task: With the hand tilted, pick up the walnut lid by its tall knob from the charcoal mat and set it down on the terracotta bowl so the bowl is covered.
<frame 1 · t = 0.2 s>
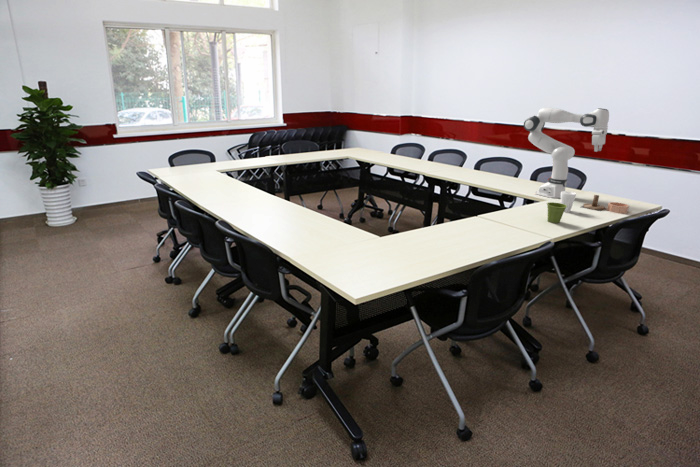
hand: (597, 151, 322), 38 cm above the table, tool pointing down, fingers open, 8 cm apart
foam cup: (565, 211, 309), on the table
lid: (594, 207, 318), resting on mat
mat: (593, 208, 319), on the table
plant pot: (553, 222, 283), on the table
bowl: (617, 211, 312), on the table
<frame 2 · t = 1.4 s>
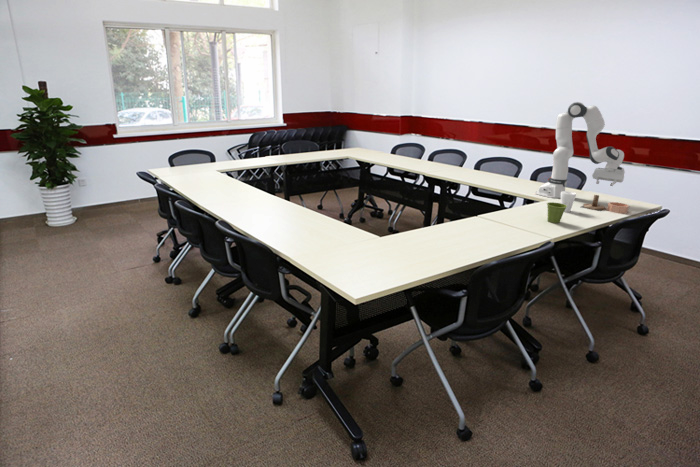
hand: (604, 184, 321), 16 cm above the table, tool tilted 45°, fingers open, 8 cm apart
nothing on the table moved.
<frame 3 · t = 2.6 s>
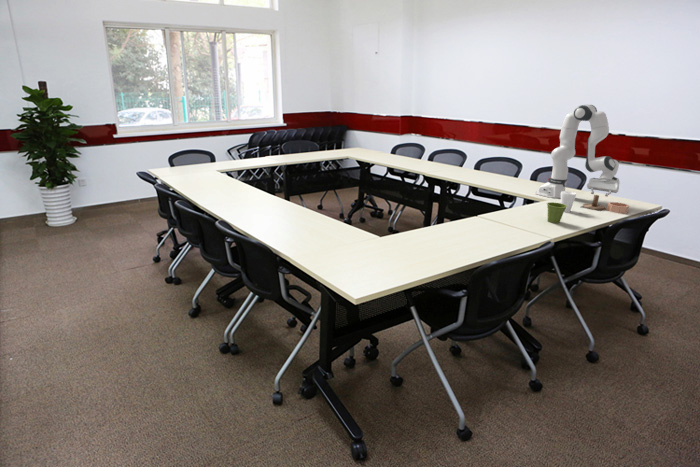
hand: (599, 194, 318), 9 cm above the table, tool tilted 45°, fingers open, 8 cm apart
nothing on the table moved.
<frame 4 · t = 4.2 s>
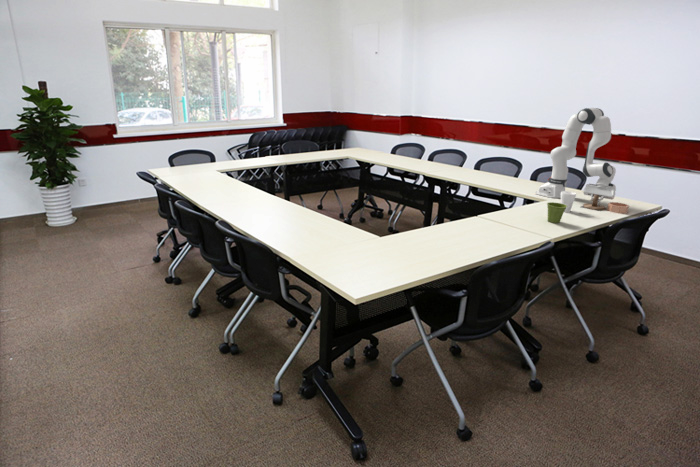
hand: (595, 201, 316), 5 cm above the table, tool tilted 45°, fingers closed on lid, 3 cm apart
lid: (594, 207, 318), resting on mat, touching gripper
everything else where it was.
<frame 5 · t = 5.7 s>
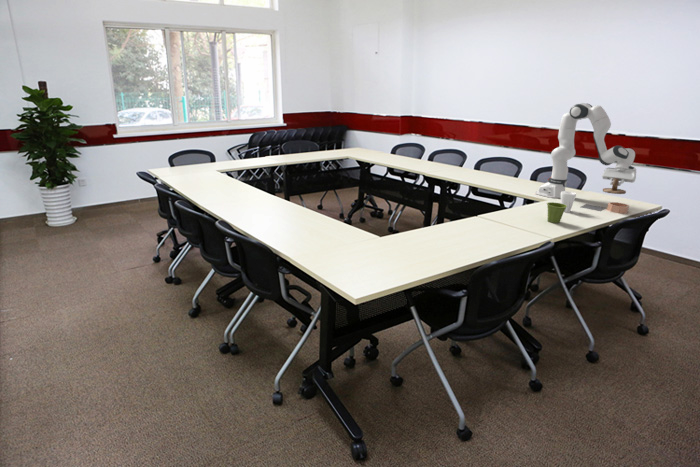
hand: (615, 184, 307), 19 cm above the table, tool tilted 45°, fingers closed on lid, 3 cm apart
lid: (613, 191, 309), point 14 cm above the table, touching gripper
everything else where it was.
when the fingers open (11 cm above the table, at t = 7.4 s): lid drops 1 cm, resting on bowl.
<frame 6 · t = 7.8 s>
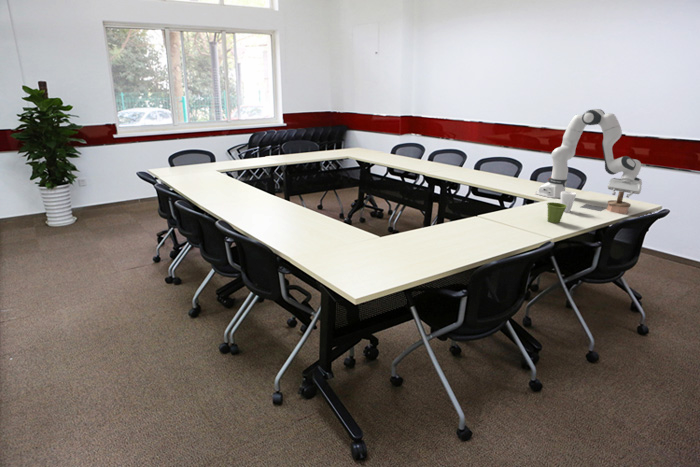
hand: (620, 195, 308), 11 cm above the table, tool tilted 45°, fingers open, 7 cm apart
lid: (618, 204, 310), point 5 cm above the table, touching bowl
everything else where it was.
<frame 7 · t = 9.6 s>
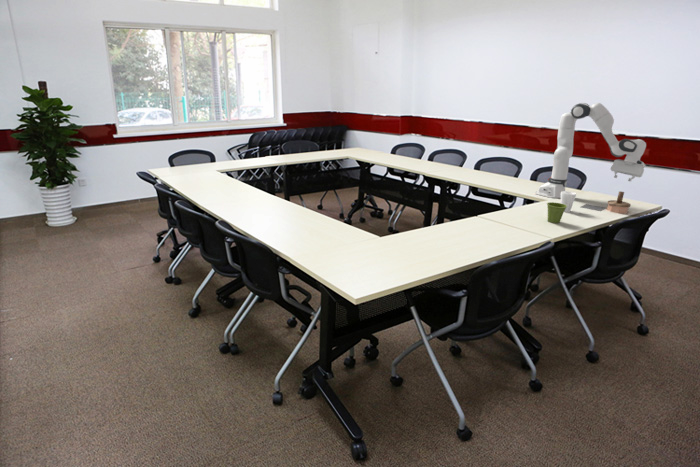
hand: (622, 179, 313), 21 cm above the table, tool tilted 30°, fingers open, 8 cm apart
nothing on the table moved.
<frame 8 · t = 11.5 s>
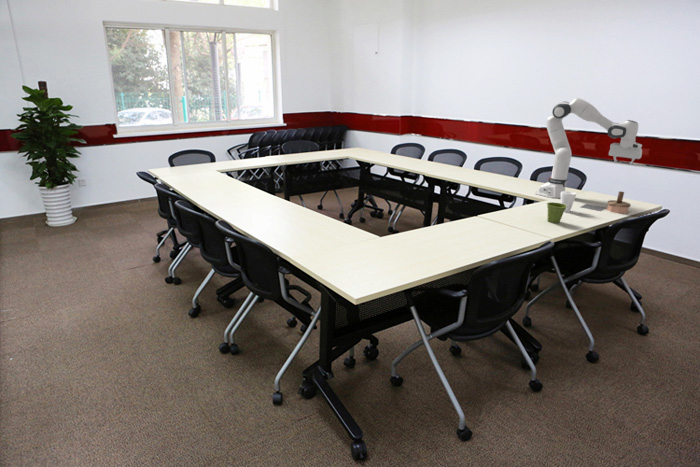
hand: (622, 163, 317), 31 cm above the table, tool pointing down, fingers open, 8 cm apart
nothing on the table moved.
at the end: lid 0.1 cm off-centre on the bowl, point 5.0 cm above the bowl's base; lid tilted 0°; the gripper is holding nothing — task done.
